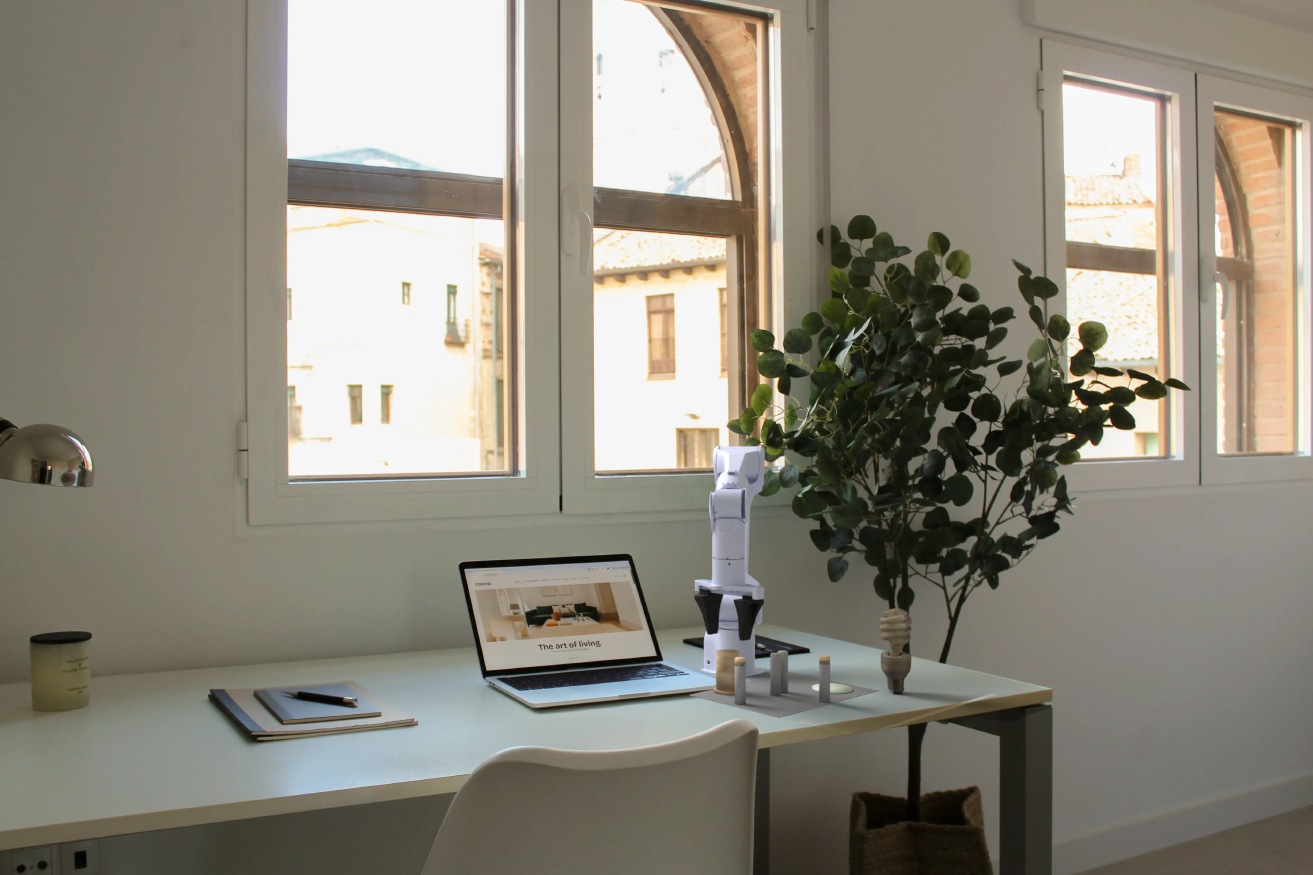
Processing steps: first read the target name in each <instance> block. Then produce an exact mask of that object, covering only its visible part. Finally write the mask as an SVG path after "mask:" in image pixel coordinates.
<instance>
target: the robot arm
mask: <svg viewBox="0 0 1313 875" xmlns="http://www.w3.org/2000/svg"><path fill="white" fill-rule="evenodd" d="M765 458H766V457H765V448H764V447H763V446H762V445H758V446H757V445H755V446H752V445H751V446H746V445H745V446H744V445H743V446H741V445H740V446H735V445H734V446H732V445H731V446H725V445H724V446H722V445H717V446H716V447H714V448H713V460H712V463H713V474H714V481H715V490H714V492H713V491H710V493H709V498H708V499H709V502H708V509H709V510H708V511H709V512H708V513H709V517H710V518H709V519H710V531H711V533H712V538H711V540H712V541H711V542H712V548H711V549H712V550H711V552H712V554H711V556H712V558H711V561H712V562H711V564H712V568H711V570H712V573H711V577H712V578H711V579H703V578H701V579H695V580H694V591H695V592H698V593H697V594H694V595H693V598H694V600H695V602H696V605H697V606H698V608H699V610H700V612H701V615H702V620H703V621H704V623H703V624H704V627H705V634H704V637H703V668H701V669H700V671H701V672H705V673H709V674H713V675H716V651H717V650H721V649H733V650H738V651H739V657H744V658H746V677H747V678H748V677H751V676H755V675H760V674H765V670H762V669H757V668H755V667H756V665H755V664H756V662H755V661H756V660H755V658H756V656H755V655H756V653H755V652H756V649H755V648H756V646H755V644H756V638H755V637H756V626H760V624H761V623H762V621H763V605H764V604H765V600H764V599H765V587H764V586H761V583H760V582H759V581H758V580H756V579H755V578H754V577H753V576H751V575H750V574H749V559H750V558H749V556H750V551H749V550H750V529H751V527H750V526H751V525H750V522H751V507H752V503H753V501H754V497H755V496H756V495H757V494H760V493H761V492H762V491H763V486H765V485H764V484H765V468H766V465H765V463H766V462H765V461H766V459H765Z"/></svg>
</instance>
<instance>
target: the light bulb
mask: <svg viewBox="0 0 1313 875" xmlns="http://www.w3.org/2000/svg"><path fill="white" fill-rule="evenodd" d="M883 616H884V617H883ZM883 616H881V617H880V618H879V623H880V626H879V631H880V632H881V634H880V639H881V640H883V641H888V642H889V646H890V650H886V651H882V652H881V653H880V669H881V670H882V671H881V672H883V675H884V676H885V677H886V680H887V681H886V682H887V689H888V691H890V692H891V693H893V694H896V695H901V694H902V692H904V691H905V683H904V682H905V679H906V678H907V676H908V675H909V673H911V670H912V654H910V652H909V653H908V652H906V651H903V648H904V646H905V645H906V644H909V643H910V641H911V640H912V636H911V633H912V626H911V625H912V623H913V619H912V617H911V616H910V614H909V613H908V612H907V610H904V609H902V608H897V607H895V608H890V609H886V610H884V611H883Z"/></svg>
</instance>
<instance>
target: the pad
mask: <svg viewBox="0 0 1313 875" xmlns="http://www.w3.org/2000/svg"><path fill="white" fill-rule="evenodd" d="M812 690H813V691H816V692H819V684H816V685H813V686H812ZM850 692H852V687H850V686H847V685H843V684H835V683H830V694H846V693H850Z"/></svg>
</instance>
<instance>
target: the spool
mask: <svg viewBox="0 0 1313 875" xmlns="http://www.w3.org/2000/svg"><path fill="white" fill-rule="evenodd" d="M736 657H739V651H738V650H733V649H721V650H717V651H716V674H715V687H714V688H713V689H714V692H715V693H716V694H720V695H735V658H736Z"/></svg>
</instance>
